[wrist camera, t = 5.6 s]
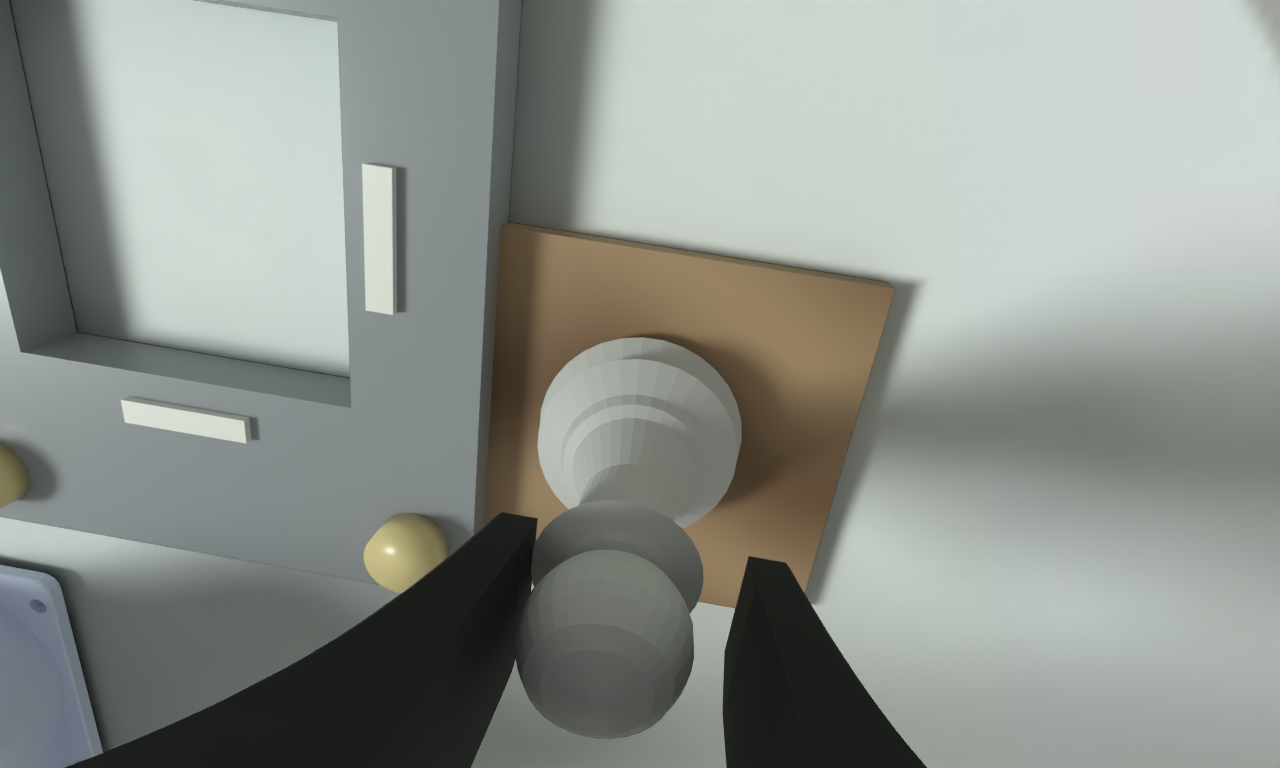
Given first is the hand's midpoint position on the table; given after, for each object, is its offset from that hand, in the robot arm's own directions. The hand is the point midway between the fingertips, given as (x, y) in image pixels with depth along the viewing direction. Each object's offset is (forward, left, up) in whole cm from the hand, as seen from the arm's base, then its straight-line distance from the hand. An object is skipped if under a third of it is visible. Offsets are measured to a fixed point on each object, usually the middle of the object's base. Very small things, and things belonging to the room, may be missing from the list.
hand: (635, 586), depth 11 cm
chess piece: (0, 0, -6) cm, 6 cm away
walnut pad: (0, 0, -6) cm, 6 cm away
